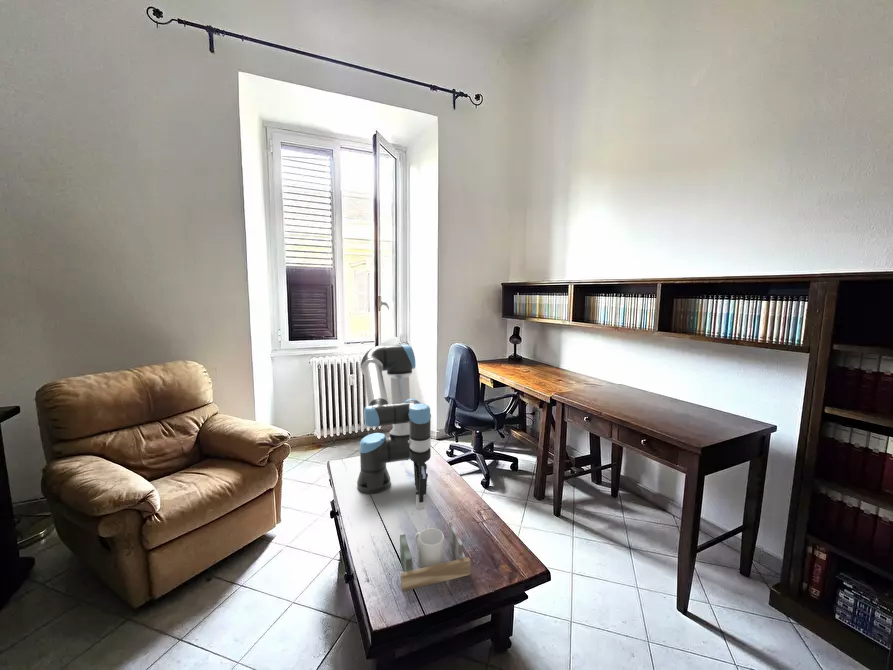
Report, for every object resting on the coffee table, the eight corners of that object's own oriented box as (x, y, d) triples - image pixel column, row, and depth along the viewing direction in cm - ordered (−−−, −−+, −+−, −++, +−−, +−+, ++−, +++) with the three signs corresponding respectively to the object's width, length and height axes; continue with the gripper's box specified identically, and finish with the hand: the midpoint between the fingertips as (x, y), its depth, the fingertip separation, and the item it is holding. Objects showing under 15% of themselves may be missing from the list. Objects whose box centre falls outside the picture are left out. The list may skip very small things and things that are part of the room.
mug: (406, 557, 123) (406, 530, 122) (425, 546, 129) (425, 519, 127) (429, 578, 114) (429, 549, 113) (448, 565, 120) (449, 536, 119)
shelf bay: (395, 560, 122) (394, 533, 121) (459, 546, 129) (459, 520, 127) (402, 591, 110) (401, 561, 108) (473, 573, 116) (473, 545, 115)
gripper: (406, 441, 134) (406, 499, 138) (413, 458, 122) (414, 521, 126) (425, 438, 136) (426, 496, 140) (435, 454, 124) (435, 517, 128)
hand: (420, 508), depth 133 cm, fingers closed
